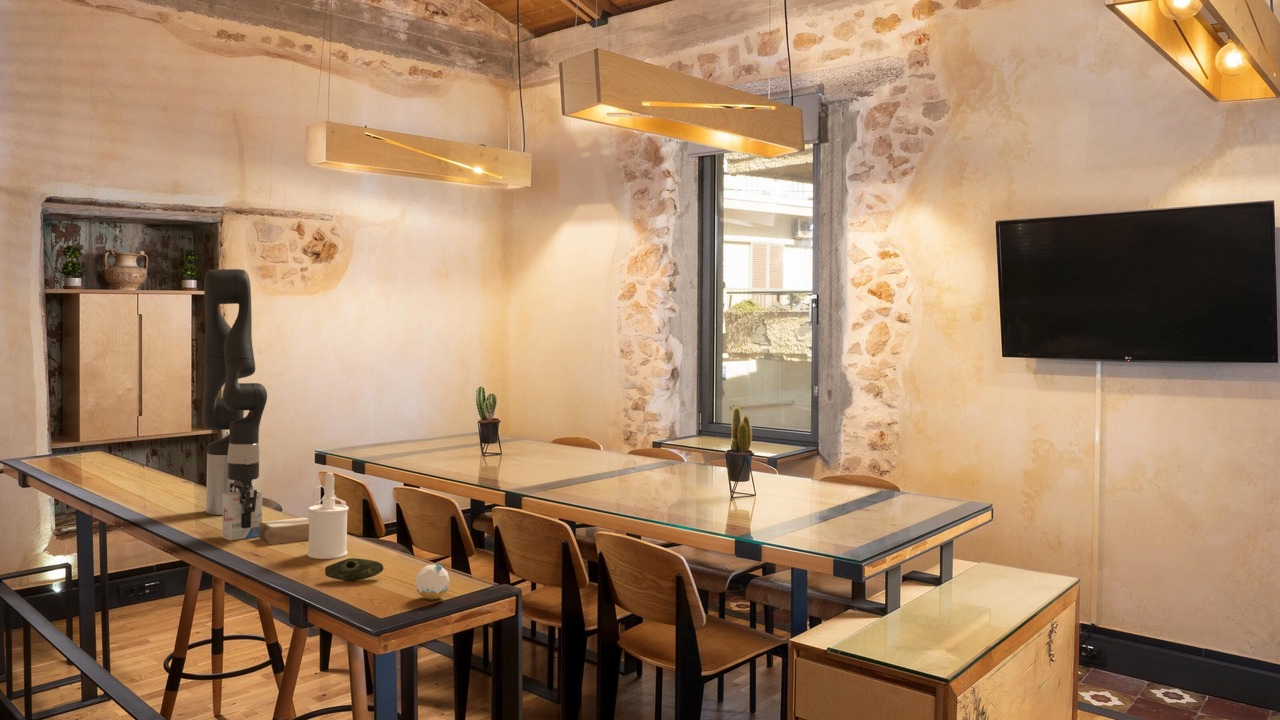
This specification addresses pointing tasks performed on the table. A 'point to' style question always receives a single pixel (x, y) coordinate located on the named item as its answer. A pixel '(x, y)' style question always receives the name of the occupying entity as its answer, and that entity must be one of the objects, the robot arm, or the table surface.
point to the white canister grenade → (328, 524)
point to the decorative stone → (353, 569)
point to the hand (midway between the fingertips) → (242, 525)
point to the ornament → (432, 581)
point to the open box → (284, 530)
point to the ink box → (239, 517)
